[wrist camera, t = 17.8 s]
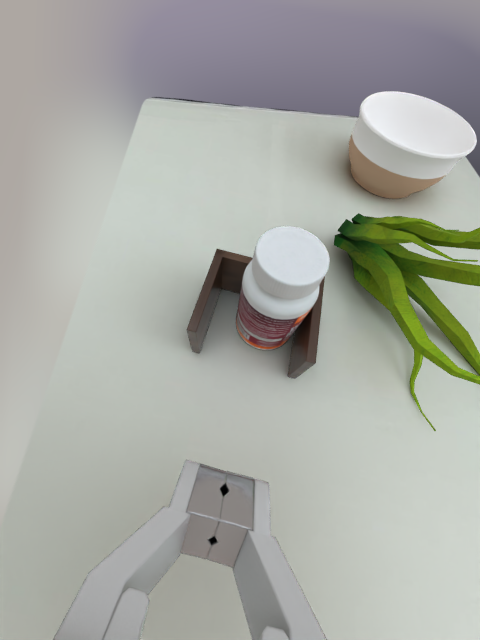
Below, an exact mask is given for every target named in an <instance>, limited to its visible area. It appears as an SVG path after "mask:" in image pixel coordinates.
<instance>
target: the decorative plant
mask: <svg viewBox="0 0 480 640" xmlns="http://www.w3.org/2000/svg"><path fill="white" fill-rule="evenodd" d="M352 221H353V223H352V222H350V221H349V220H347V219H346V220H345V222H344V223H343V224H342V225H341V227H340V228H339V229H338V231H339V232H340V234H338V235H335V240H334V245H335V246H337V247H339V248H341V249H343V250H344V251H346V252H347V253H348V255H349V257H350V258H351V260H352V263H353V270H354V278H355V279H356V280H357V281H358V282H359V283H360V284H361V285H362V286H363V287H364V288H365V289H366V290H367V291H368V292H369V293H370V294H371V295H373V296H374V297H375V298H376V299H377V300H378V301H379V302H380V303H381V304H382V305H384V306H385V307H386V308H387V309H388V310H389V311H390V312H391V314H392V315H393V317H394V319H395V320H396V322H397V323H398V325H399V327H400V328H401V330H402V331H403V333H404V335H405V336H406V338H407V339H408V341H409V343H410V344H411V346H412V347H413V349H414V367H413V370H412V374H411V378H410V388H411V394H412V396H413V398H414V400H415V402H416V404H417V406H418V408H419V409H420V411H421V413H422V414H423V412H422V410H421V408H420V405H419V403H418V400H417V398H416V395H415V393H414V381H415V379H416V376H417V374H418V372H419V369H420V367H421V365H422V359H423V356H424V357H426V358H427V359H429V360H430V361H432V362H433V363H435V364H436V365H437V366H439V367H440V368H442V369H443V370H445V371H446V372H448V373H449V374H450V375H453V376H456V377H459V378H462V379H465V380H468V381H471V382H474V383H477V384H480V376H477V375H475V374H473V373H470V372H468V371H466V370H463V369H461V368H458V367H457V366H456V365H455V364H454V363H453V362H452V361H451V360H450V359H449V358H448V357H447V356H446V355H445V354H444V353H443V352H442V351H441V350H440V349H439V348H438V347H437V346H436V345H435V344H433V343H432V342H431V341H430V340H429V338H428V336H427V334H426V332H425V331H424V329H423V327H422V325H421V323H420V321H419V319H418V317H417V315H416V313H415V311H414V309H413V307H412V306H411V304H410V301H409V298H408V295H409V296H410V297H411V298H412V299H414V300H415V301H416V302H417V303H418V304H419V305H420V306H421V307H422V308H423V309H424V310H425V312H426V313H427V314H428V315H429V316H430V318H431V319H432V320H433V321H434V322H435V324H436V325H437V326H438V327H439V328H440V330H441V331H442V332H443V333H444V334H445V336H446V337H447V338H448V339H449V340H450V342H451V343H452V344H453V345H454V346H455V347H456V348H457V350H458V351H459V352H460V353H461V354H462V355H463V356H464V358H465V359H466V360H467V361H468V362H469V363H470V365H471V366H472V367H473V368H474V369H475V370H476V371H477V373H478V374H479V375H480V353H479V352H478V350H477V348H476V346H475V344H474V342H473V341H472V339H471V337H470V335H469V333H468V332H467V331H466V330H465V328H464V327H463V326H462V325H461V324H460V323H459V322H458V320H457V319H456V318H455V317H454V316H453V315H452V314H451V313H450V311H449V310H448V309H447V308H446V307H445V306H444V305H443V303H442V302H441V301H440V300H439V299H438V298H437V296H436V295H435V294H434V293H433V292H432V290H431V289H430V288H429V287H428V286H427V284H426V283H425V282H424V281H423V279H422V278H421V277H419V276H418V275H421V276H425V277H430V278H435V279H440V280H445V281H451V282H456V283H461V284H467V285H474V286H480V266H479V265H472V264H465V263H458V262H451V261H444V260H437V259H431V258H428V257H425V256H422V255H419V254H416V253H413V252H411V251H408V250H407V249H406V248H404V247H403V246H401V245H400V244H398V243H410V242H413V243H415V244H417V245H419V246H421V247H423V248H425V249H427V250H429V251H431V252H434V253H436V254H438V255H441V256H443V257H445V258H448V259H450V260H452V261H474V262H477V261H478V260H458V259H452V258H450V257H449V256H447V255H445V254H443V253H442V252H440V251H438V250H436V249H435V248H433V247H431V246H429V245H428V244H430V245H433V246H445V247H456V248H468V249H480V228H478V229H476V230H473V231H471V232H458V231H459V230H445V229H443V228H441V227H439V226H437V225H435V224H433V223H431V222H428V221H426V220H423V219H417V218H408V217H402V216H394V217H383V218H374V217H366V216H365V217H364V216H362V215H361V214H359V213H358V214H357V215H356V216H355V217H354V218H352ZM440 229H441V230H440ZM443 230H444V231H443ZM341 233H342V234H341ZM426 243H427V244H426ZM423 416H424V417H425V418H426V416H425V415H424V414H423ZM426 420H427V421H428V423H429V424H430V425H431V427H432V428H433V429H434V427H433V426H432V424H431V423H430V422H429V420H428V419H427V418H426ZM434 431H436V430H435V429H434Z"/></svg>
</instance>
